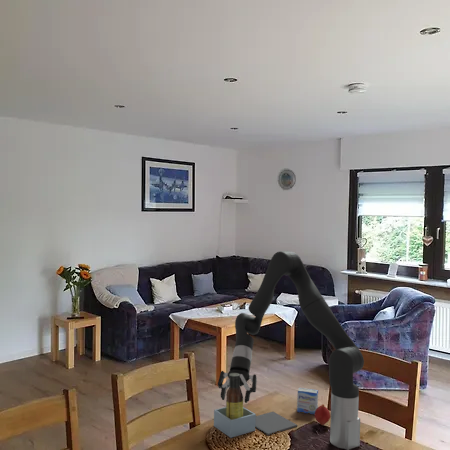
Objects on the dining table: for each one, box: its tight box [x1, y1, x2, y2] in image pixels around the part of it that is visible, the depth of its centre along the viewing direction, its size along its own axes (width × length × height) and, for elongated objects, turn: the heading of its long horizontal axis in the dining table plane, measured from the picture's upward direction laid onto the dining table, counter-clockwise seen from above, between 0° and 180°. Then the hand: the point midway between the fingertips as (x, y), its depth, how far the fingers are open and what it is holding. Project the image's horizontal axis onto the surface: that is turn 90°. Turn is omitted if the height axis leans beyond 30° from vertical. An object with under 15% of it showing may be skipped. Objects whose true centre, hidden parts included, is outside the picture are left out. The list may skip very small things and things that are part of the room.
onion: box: [313, 403, 331, 426], centre depth 177 cm, size 6×6×8 cm
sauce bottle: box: [225, 373, 244, 420], centre depth 172 cm, size 6×6×20 cm
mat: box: [255, 411, 298, 436], centre depth 177 cm, size 14×14×1 cm
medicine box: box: [296, 387, 319, 415], centre depth 189 cm, size 8×4×9 cm, turn 73°
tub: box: [213, 406, 257, 439], centre depth 172 cm, size 11×11×6 cm
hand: (234, 400), depth 171 cm, fingers open, 8 cm apart
